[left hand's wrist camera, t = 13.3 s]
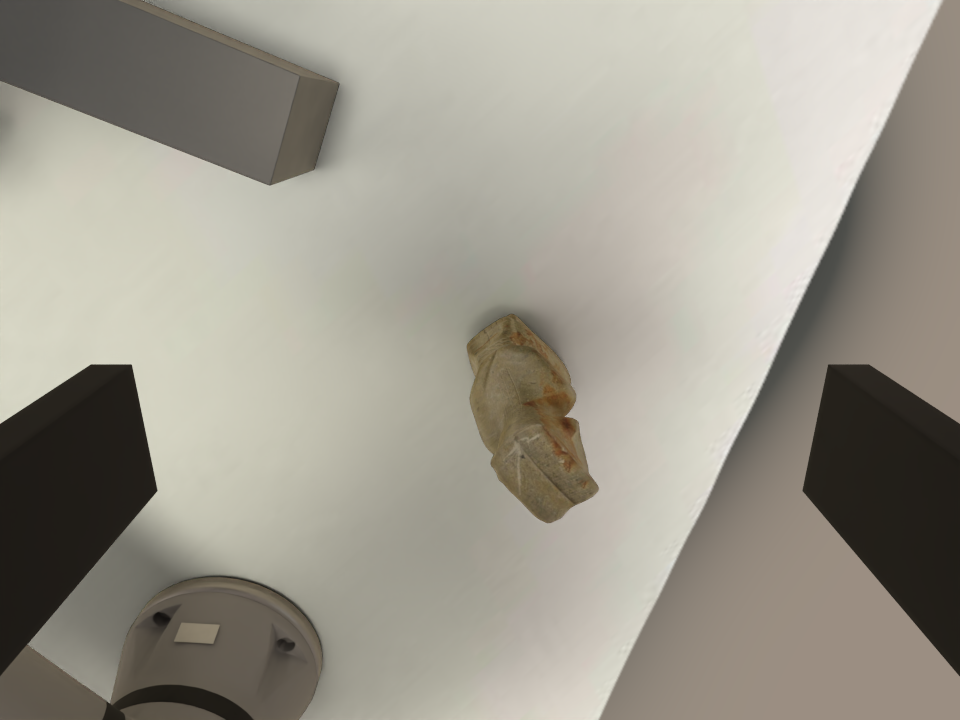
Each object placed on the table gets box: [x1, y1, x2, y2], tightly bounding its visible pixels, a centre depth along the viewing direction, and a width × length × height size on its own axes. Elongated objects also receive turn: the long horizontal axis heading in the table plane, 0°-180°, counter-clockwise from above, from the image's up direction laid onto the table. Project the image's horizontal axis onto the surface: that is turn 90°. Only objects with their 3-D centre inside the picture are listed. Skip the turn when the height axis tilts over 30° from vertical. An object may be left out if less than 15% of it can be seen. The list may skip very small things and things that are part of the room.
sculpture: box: [467, 314, 599, 523], centre depth 37 cm, size 6×7×15 cm
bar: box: [0, 0, 339, 185], centre depth 34 cm, size 22×5×9 cm, turn 68°
